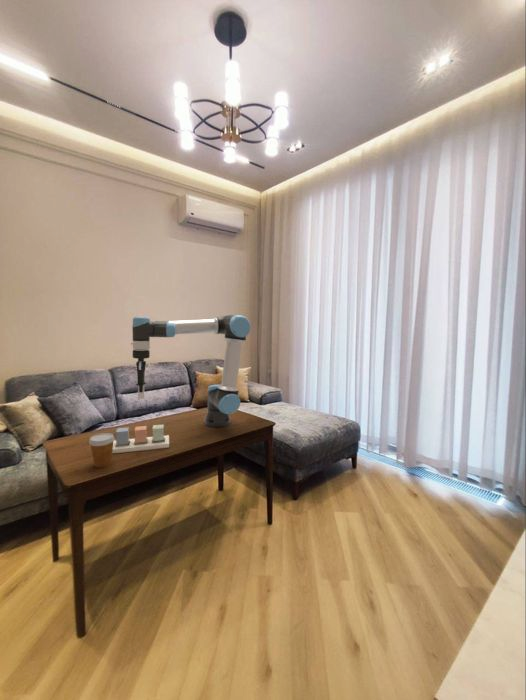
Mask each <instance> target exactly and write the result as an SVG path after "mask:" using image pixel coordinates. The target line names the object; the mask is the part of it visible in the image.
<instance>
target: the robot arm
mask: <svg viewBox="0 0 526 700" xmlns="http://www.w3.org/2000/svg"><path fill="white" fill-rule="evenodd" d="M131 326H132V330H131V331H132V342H131V345H132V358H133V359H137V361H136V362H135V365H136V372H137V373H136V374H137V383H136V386H137V399H138V400H139V399H140V400H141V399H145V385H147V383H146V382H145V374H146V365H147V361H145V359H149V358H150V357H151V356H150V354H151V353H150V352H151V351H150V349H151V342H150V339H151V338H168V339H169V338H175V336H176V335H188V334H189V335H191V334H206V333H213V334H215V335H224V339H225V341H226V346H225V354H224V359H223V360H224V361H223V368H222V377H221V383H220V384H212V385H208V387H207V391H206V392H207V411H206V415H205V417H204V424H205V425H206V426H207V427H211V428H221V427H226V426H228V425H230V424H231V416H230V415H232V414H234V413H236V412H238V409H239V408H240V406H241V399H240V396H239V391H240V389H239V388H238V386H237V384H238V379H239V370H240V364H241V363H240V362H241V355H242V348H243V344H244V343H245V342H246V341H247V336H248V335H249V334H250V332H251V330H252V329H251V328H252V325H251V323H250V320H249V319H248V318H247V317H246V316H244V315H242V314H241V315H240V314H229V315H223V316H222V315H221V316H214V317H212V318H210V319H209V318H207V319H205V318H204V319H184V320H183V319H182V320H160V321H159V320H155V321H151V319H150V317H145V316H134V317H133V318H132V325H131Z"/></svg>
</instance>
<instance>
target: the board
mask: <svg viewBox="0 0 526 700" xmlns="http://www.w3.org/2000/svg"><path fill="white" fill-rule="evenodd" d="M161 449H170V435H169V434H167V435H165V434H164V440H157V441H153V436H147V439H146V442H137V443H135V437H133V438H129V442H128V443H127V444H117V445H116V439H114V441H113V450H112V455H113V454H115V455H116V454H124V453H130V452H131V453H132V452H141V451H142V452H143V451H150V450H151V451H152V450H161Z"/></svg>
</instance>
